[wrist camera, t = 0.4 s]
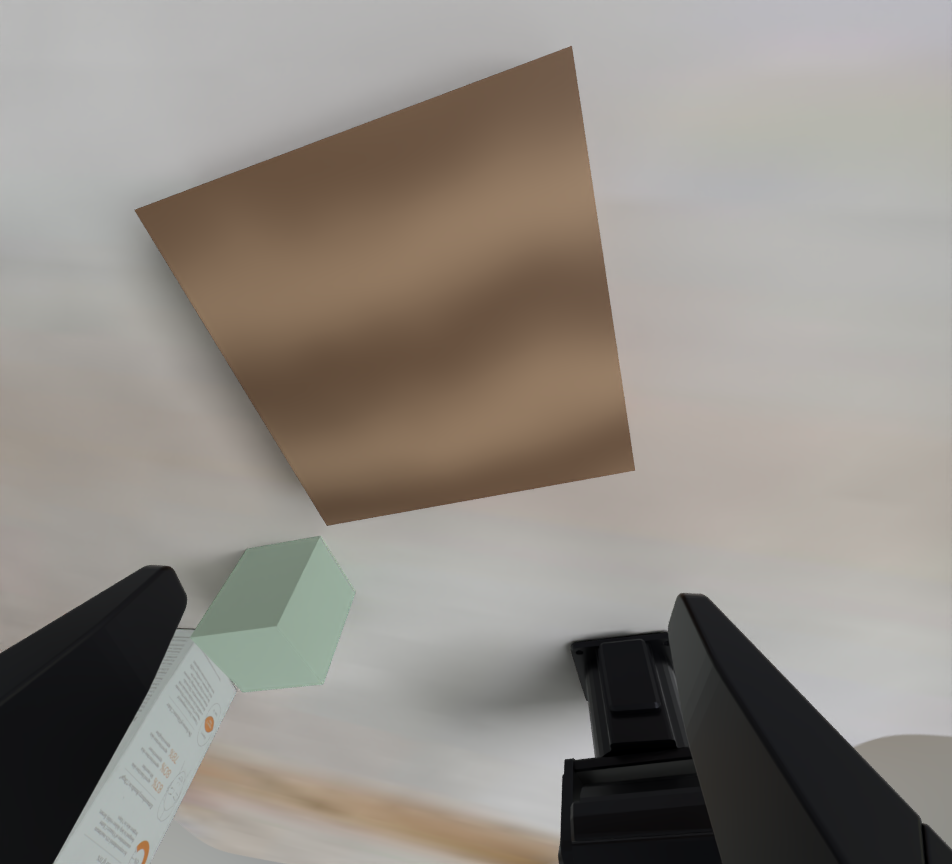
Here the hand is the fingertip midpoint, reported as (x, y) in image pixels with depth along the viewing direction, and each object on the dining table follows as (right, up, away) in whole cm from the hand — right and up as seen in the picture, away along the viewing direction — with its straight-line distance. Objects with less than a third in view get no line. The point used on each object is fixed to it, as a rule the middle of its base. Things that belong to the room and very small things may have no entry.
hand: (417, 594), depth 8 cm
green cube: (-10, -6, +21) cm, 24 cm away
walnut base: (-1, +8, +12) cm, 14 cm away
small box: (-21, -14, +28) cm, 37 cm away
